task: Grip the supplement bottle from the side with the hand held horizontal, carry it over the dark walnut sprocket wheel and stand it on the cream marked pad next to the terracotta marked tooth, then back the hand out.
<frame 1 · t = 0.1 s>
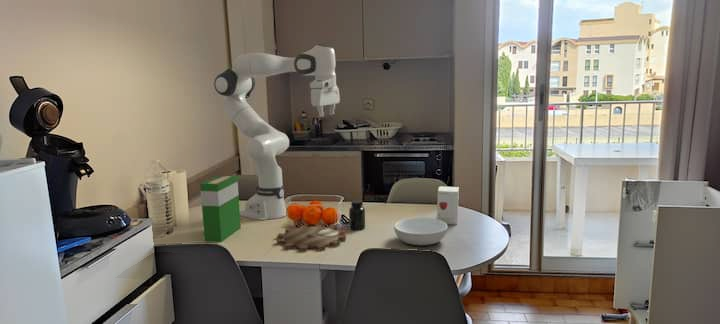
hand: (326, 115, 213), 48 cm above the table, tool pointing down, fingers open, 8 cm apart
sprocket wheel: (311, 239, 200), on the table
serving bowl: (420, 242, 195), on the table
supplement bottle: (357, 228, 212), on the table
supplement box: (447, 221, 219), on the table
green cereal box: (223, 234, 207), on the table
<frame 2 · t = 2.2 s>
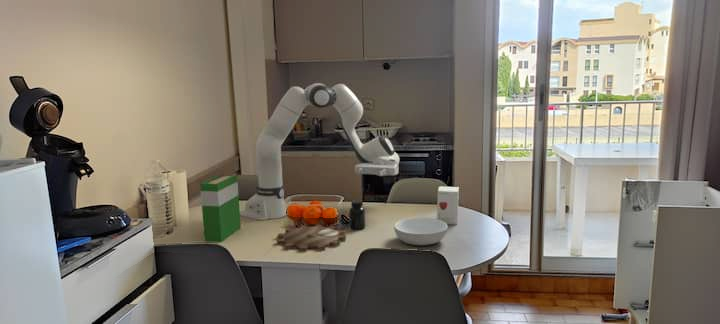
hand: (369, 173, 221), 21 cm above the table, tool horizontal, fingers open, 8 cm apart
nothing on the table moved.
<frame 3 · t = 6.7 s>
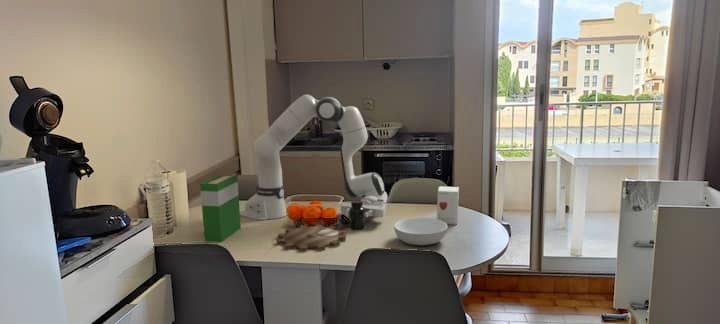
hand: (356, 214, 210), 7 cm above the table, tool horizontal, fingers closed on supplement bottle, 7 cm apart
supplement bottle: (357, 228, 212), on the table, touching gripper
everything else where it was.
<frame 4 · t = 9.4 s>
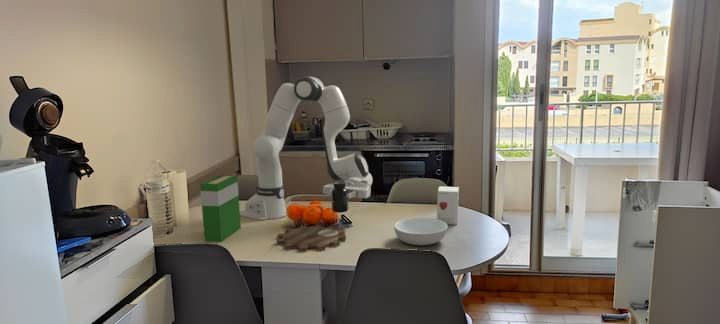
hand: (338, 195, 203), 17 cm above the table, tool horizontal, fingers closed on supplement bottle, 7 cm apart
supplement bottle: (340, 211, 205), point 10 cm above the table, touching gripper
everything else where it was.
when the fingers open (10 cm above the table, at t = 12.3 s): supplement bottle drops 1 cm, resting on sprocket wheel.
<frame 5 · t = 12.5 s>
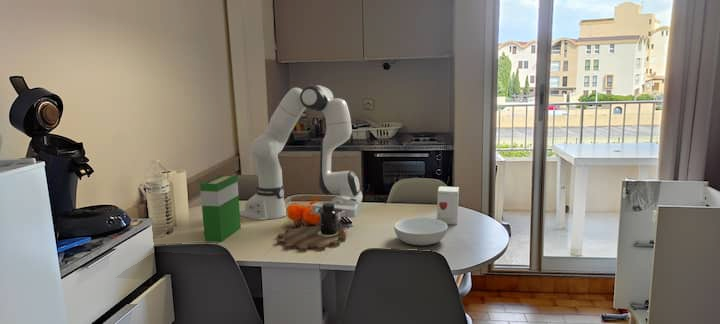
hand: (326, 214, 200), 10 cm above the table, tool horizontal, fingers open, 8 cm apart
supplement bottle: (329, 233, 202), point 2 cm above the table, touching sprocket wheel
everything else where it was.
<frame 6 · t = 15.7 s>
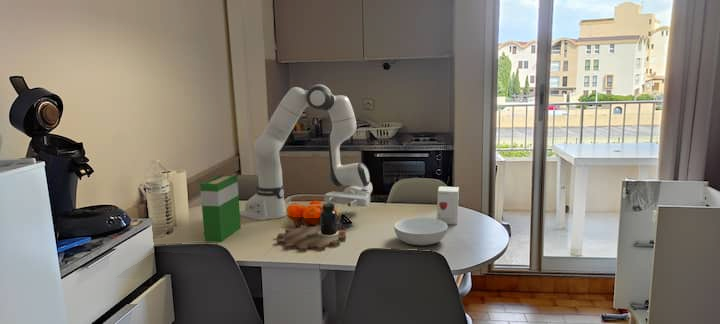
hand: (339, 203, 211), 11 cm above the table, tool horizontal, fingers open, 8 cm apart
nothing on the table moved.
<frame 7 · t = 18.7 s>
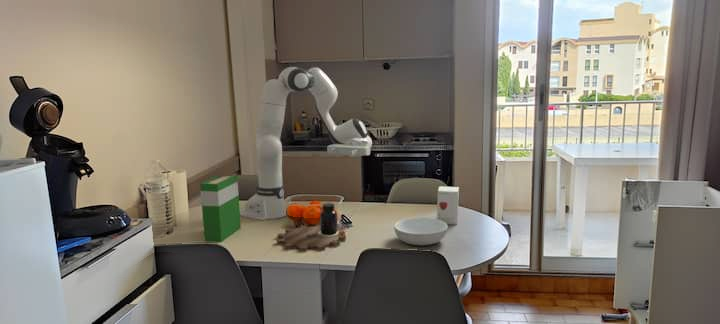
hand: (341, 152, 225), 30 cm above the table, tool horizontal, fingers open, 8 cm apart
nothing on the table moved.
at the end: supplement bottle 0.5 cm from the target spot on the sprocket wheel, point 1.5 cm above the sprocket wheel's base; supplement bottle tilted 0°; the gripper is holding nothing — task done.
